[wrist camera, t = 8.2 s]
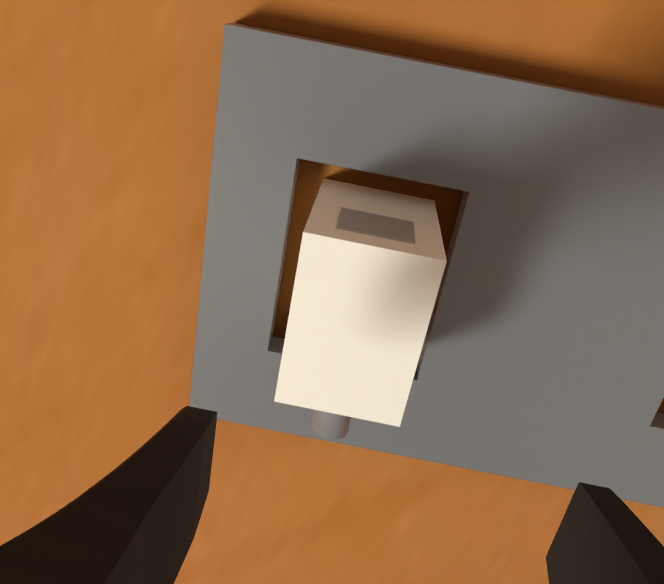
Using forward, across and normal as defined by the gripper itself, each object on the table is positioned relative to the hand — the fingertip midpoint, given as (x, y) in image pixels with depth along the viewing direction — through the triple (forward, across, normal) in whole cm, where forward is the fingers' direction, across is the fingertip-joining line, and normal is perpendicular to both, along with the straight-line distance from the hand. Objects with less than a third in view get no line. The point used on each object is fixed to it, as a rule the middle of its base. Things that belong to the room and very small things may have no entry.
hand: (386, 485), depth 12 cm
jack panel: (+9, -6, -1) cm, 11 cm away
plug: (+9, +1, -1) cm, 9 cm away
